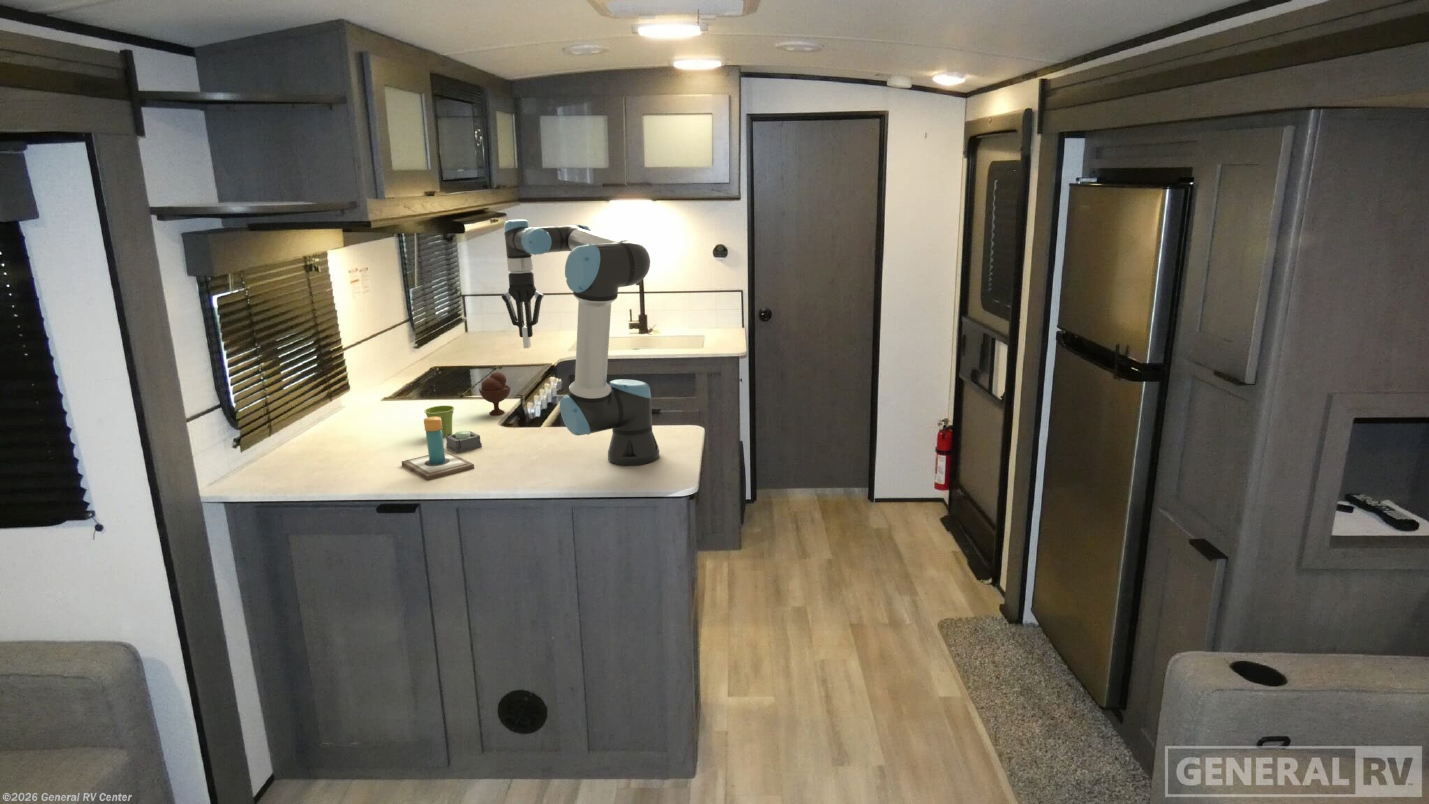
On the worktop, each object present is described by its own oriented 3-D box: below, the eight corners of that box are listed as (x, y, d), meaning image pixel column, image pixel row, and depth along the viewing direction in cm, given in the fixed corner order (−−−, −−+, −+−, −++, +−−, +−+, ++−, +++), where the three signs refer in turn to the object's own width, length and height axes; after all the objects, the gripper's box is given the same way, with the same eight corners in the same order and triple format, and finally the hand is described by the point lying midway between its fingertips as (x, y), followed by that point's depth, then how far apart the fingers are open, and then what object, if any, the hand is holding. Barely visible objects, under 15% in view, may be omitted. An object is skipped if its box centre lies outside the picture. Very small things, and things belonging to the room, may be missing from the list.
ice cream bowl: (496, 408, 310) (492, 367, 306) (519, 411, 304) (515, 370, 300) (474, 415, 301) (470, 374, 297) (497, 419, 295) (493, 377, 292)
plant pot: (426, 440, 274) (423, 414, 272) (428, 432, 283) (424, 406, 280) (456, 437, 276) (454, 411, 274) (457, 429, 285) (454, 404, 283)
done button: (473, 441, 265) (472, 432, 264) (460, 445, 262) (459, 435, 262) (466, 439, 268) (466, 429, 268) (453, 442, 266) (452, 432, 265)
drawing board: (474, 468, 246) (473, 463, 246) (427, 480, 237) (426, 475, 237) (447, 454, 259) (446, 449, 259) (401, 465, 250) (401, 460, 250)
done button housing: (481, 446, 265) (480, 435, 264) (457, 452, 260) (456, 441, 259) (470, 441, 271) (469, 430, 270) (446, 447, 266) (445, 436, 265)
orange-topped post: (448, 461, 247) (444, 418, 244) (433, 465, 244) (427, 422, 241) (441, 458, 251) (436, 415, 248) (426, 461, 248) (420, 419, 244)
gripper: (544, 269, 263) (550, 344, 270) (503, 270, 264) (510, 345, 270) (538, 272, 256) (544, 349, 262) (496, 273, 257) (503, 350, 263)
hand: (527, 347), depth 266 cm, fingers closed
